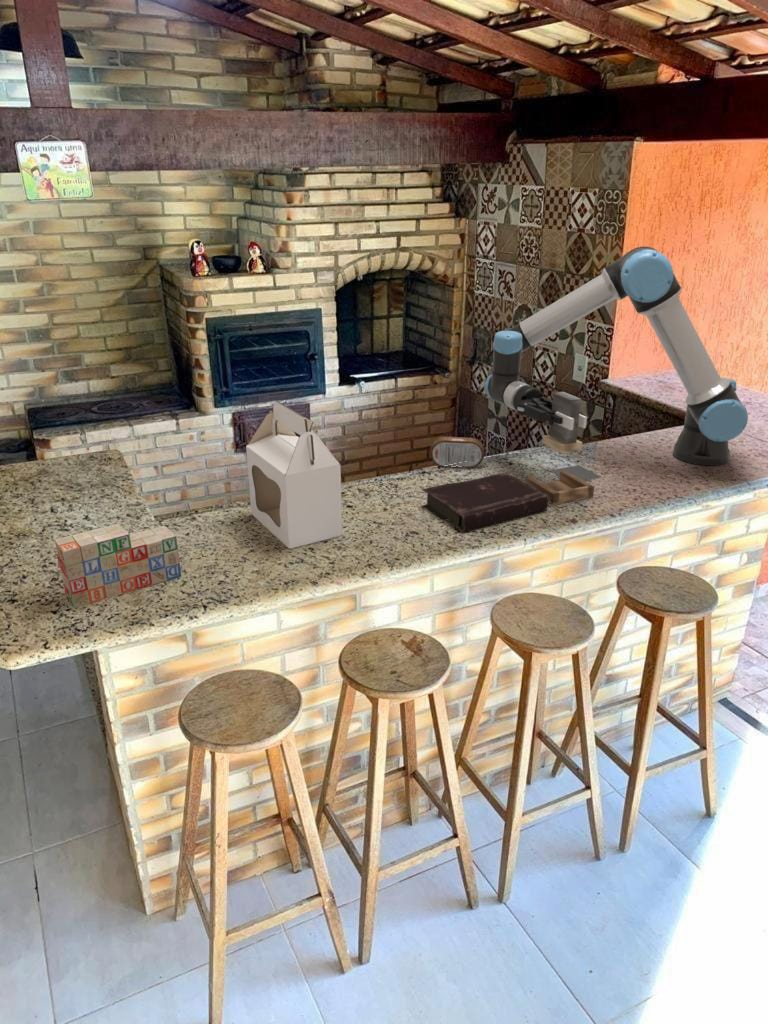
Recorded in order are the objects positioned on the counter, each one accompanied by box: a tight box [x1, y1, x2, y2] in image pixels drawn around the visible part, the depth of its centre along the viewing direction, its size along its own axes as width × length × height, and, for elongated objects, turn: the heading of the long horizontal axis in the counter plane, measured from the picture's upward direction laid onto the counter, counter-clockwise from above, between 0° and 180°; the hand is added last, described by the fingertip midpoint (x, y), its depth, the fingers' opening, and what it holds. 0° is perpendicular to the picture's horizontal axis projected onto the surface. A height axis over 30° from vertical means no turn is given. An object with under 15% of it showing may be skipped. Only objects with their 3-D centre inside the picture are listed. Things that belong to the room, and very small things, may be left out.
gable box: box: [245, 400, 343, 550], centre depth 171 cm, size 22×13×28 cm, turn 31°
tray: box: [525, 471, 595, 506], centre depth 193 cm, size 12×12×3 cm
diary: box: [421, 472, 549, 533], centre depth 185 cm, size 19×25×5 cm
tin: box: [429, 436, 485, 469], centre depth 210 cm, size 15×3×8 cm, turn 84°
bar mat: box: [548, 464, 602, 482], centre depth 206 cm, size 10×10×1 cm
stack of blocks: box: [54, 523, 182, 609], centre depth 149 cm, size 21×6×12 cm, turn 125°
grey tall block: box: [542, 391, 583, 454], centre depth 187 cm, size 6×8×13 cm
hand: (578, 423), depth 182 cm, fingers closed on grey tall block, 3 cm apart
